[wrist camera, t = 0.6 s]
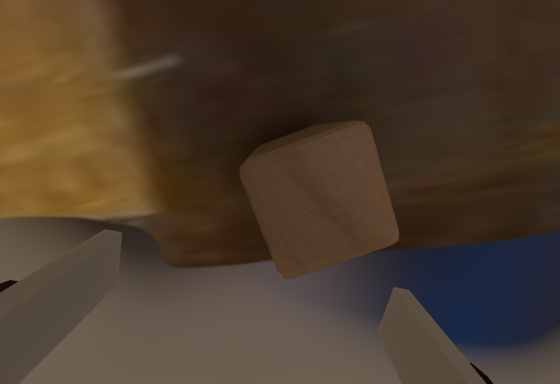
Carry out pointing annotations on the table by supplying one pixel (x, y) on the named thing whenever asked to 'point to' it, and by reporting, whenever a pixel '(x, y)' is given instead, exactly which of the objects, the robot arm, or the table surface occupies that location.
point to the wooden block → (320, 196)
